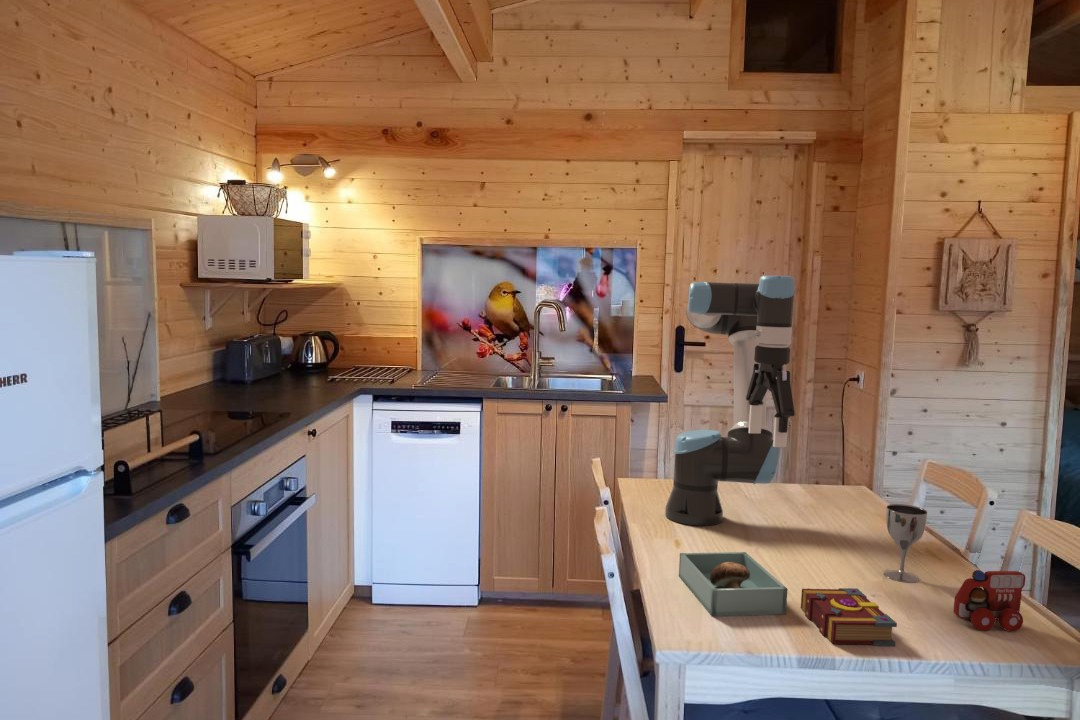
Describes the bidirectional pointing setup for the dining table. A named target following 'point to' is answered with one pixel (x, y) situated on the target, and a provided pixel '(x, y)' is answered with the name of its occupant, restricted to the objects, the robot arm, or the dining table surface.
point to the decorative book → (847, 616)
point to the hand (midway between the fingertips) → (766, 439)
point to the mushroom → (729, 575)
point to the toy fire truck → (991, 599)
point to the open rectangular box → (751, 599)
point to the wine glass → (904, 535)
